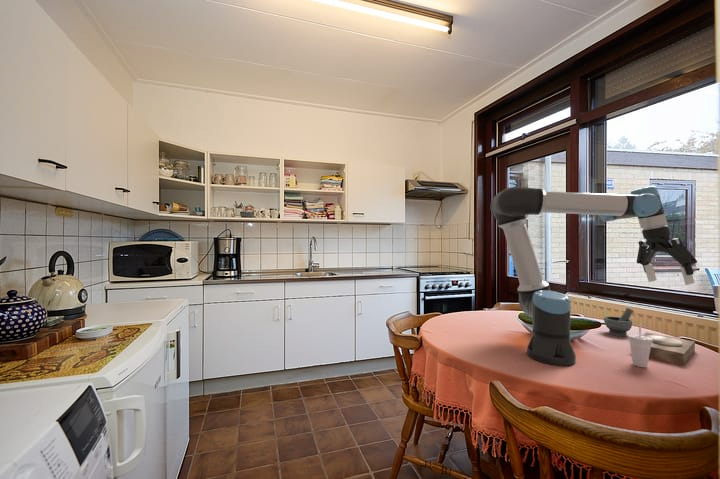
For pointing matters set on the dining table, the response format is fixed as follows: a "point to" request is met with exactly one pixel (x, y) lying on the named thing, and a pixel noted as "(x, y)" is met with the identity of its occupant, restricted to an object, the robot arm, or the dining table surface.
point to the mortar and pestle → (619, 323)
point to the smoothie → (640, 348)
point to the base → (670, 348)
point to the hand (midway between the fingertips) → (670, 282)
